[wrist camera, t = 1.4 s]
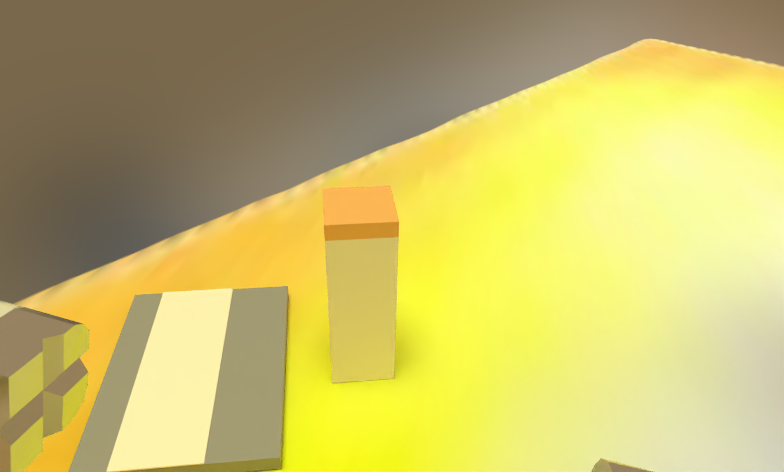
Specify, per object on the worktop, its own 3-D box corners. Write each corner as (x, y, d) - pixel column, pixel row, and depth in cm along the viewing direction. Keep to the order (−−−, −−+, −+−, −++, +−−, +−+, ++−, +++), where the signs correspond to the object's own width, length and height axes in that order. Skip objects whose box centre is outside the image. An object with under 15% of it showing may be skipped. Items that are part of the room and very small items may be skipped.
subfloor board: (288, 296, 45) (287, 285, 45) (281, 468, 33) (279, 456, 32) (138, 305, 44) (134, 293, 44) (72, 487, 32) (66, 474, 31)
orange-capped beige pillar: (387, 336, 42) (390, 186, 35) (394, 378, 39) (398, 221, 32) (330, 339, 42) (322, 188, 35) (332, 383, 38) (323, 225, 32)
